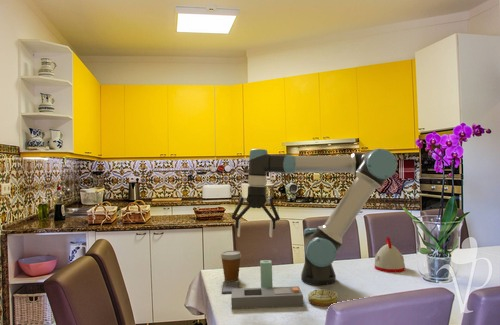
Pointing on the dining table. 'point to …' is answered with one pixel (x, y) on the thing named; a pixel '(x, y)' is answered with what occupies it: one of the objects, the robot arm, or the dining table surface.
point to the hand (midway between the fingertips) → (254, 236)
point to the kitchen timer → (389, 259)
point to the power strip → (266, 297)
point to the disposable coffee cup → (231, 264)
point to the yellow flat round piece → (322, 297)
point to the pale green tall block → (266, 273)
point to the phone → (229, 287)
